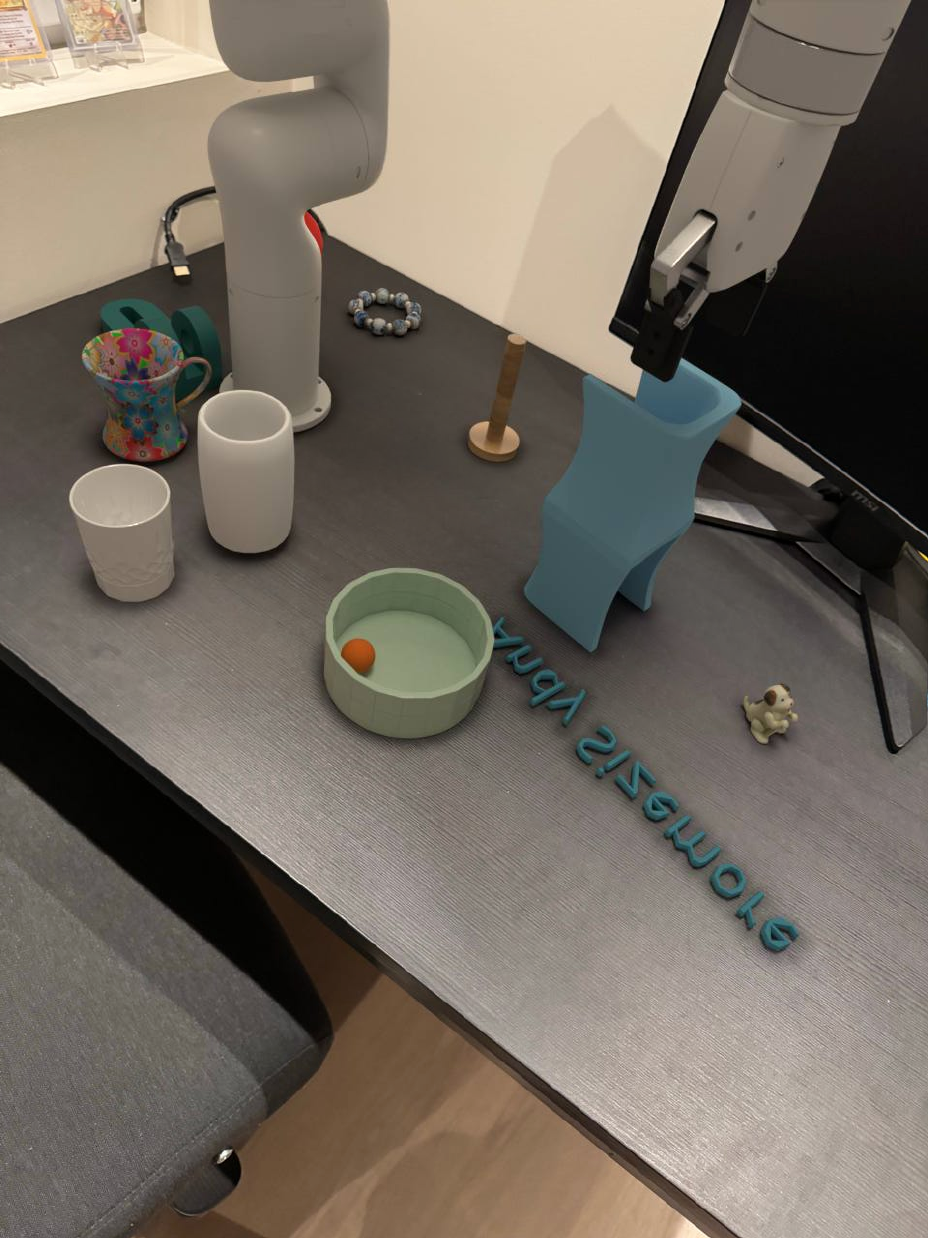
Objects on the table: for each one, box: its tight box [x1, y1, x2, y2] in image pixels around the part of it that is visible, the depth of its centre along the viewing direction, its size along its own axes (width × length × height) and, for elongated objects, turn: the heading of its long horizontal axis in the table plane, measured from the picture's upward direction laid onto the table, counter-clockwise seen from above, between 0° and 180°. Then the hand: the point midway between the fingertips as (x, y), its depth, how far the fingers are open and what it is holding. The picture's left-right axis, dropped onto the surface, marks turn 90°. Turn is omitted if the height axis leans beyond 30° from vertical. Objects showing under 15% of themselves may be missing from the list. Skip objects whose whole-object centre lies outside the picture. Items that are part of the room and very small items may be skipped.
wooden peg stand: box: [467, 333, 527, 463], centre depth 94 cm, size 6×6×14 cm
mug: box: [81, 329, 211, 463], centre depth 86 cm, size 12×9×11 cm
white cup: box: [68, 463, 175, 603], centre depth 74 cm, size 8×8×10 cm
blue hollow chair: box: [523, 357, 742, 653], centre depth 76 cm, size 10×10×25 cm
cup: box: [197, 390, 295, 554], centre depth 78 cm, size 8×8×14 cm
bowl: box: [323, 567, 495, 739], centre depth 73 cm, size 14×14×6 cm
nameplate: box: [492, 616, 800, 952], centre depth 72 cm, size 37×1×5 cm
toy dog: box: [742, 683, 799, 745], centre depth 76 cm, size 4×5×5 cm
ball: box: [341, 638, 376, 673], centre depth 73 cm, size 3×3×3 cm
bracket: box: [99, 298, 224, 402], centre depth 97 cm, size 18×7×8 cm, turn 42°
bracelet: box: [347, 287, 422, 336], centre depth 113 cm, size 10×10×2 cm
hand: (688, 348), depth 58 cm, fingers open, 9 cm apart
